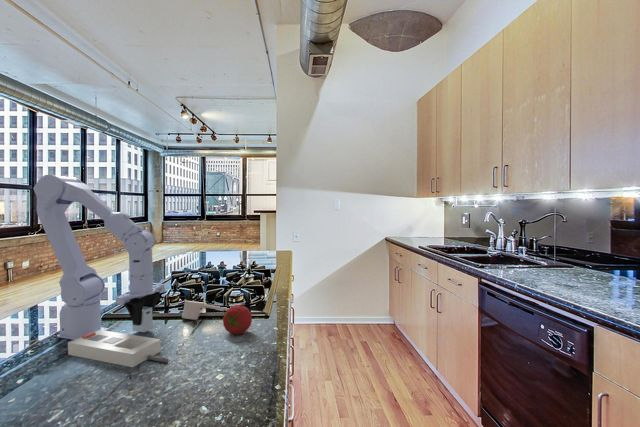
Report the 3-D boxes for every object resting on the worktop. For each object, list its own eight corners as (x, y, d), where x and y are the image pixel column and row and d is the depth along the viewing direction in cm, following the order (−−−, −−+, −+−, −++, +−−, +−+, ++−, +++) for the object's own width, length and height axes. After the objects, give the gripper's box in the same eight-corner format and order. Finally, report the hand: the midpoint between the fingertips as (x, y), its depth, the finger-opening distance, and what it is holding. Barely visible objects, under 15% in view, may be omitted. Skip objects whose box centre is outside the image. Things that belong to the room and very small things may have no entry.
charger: (132, 330, 90) (132, 309, 90) (141, 326, 93) (141, 305, 93) (144, 332, 89) (143, 310, 89) (152, 328, 92) (152, 307, 92)
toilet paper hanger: (246, 308, 109) (211, 306, 95) (243, 324, 108) (207, 323, 94) (203, 300, 118) (165, 296, 105) (200, 314, 117) (161, 312, 104)
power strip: (68, 354, 78) (67, 339, 78) (100, 340, 86) (99, 327, 85) (154, 371, 70) (153, 355, 70) (180, 354, 78) (180, 340, 77)
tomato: (243, 297, 94) (229, 300, 87) (261, 317, 92) (248, 321, 85) (226, 318, 95) (211, 322, 88) (244, 338, 92) (229, 344, 85)
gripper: (129, 281, 83) (131, 334, 83) (172, 270, 96) (173, 315, 97) (109, 279, 85) (110, 330, 85) (153, 268, 98) (154, 312, 99)
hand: (142, 322), depth 91 cm, fingers closed on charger, 3 cm apart
